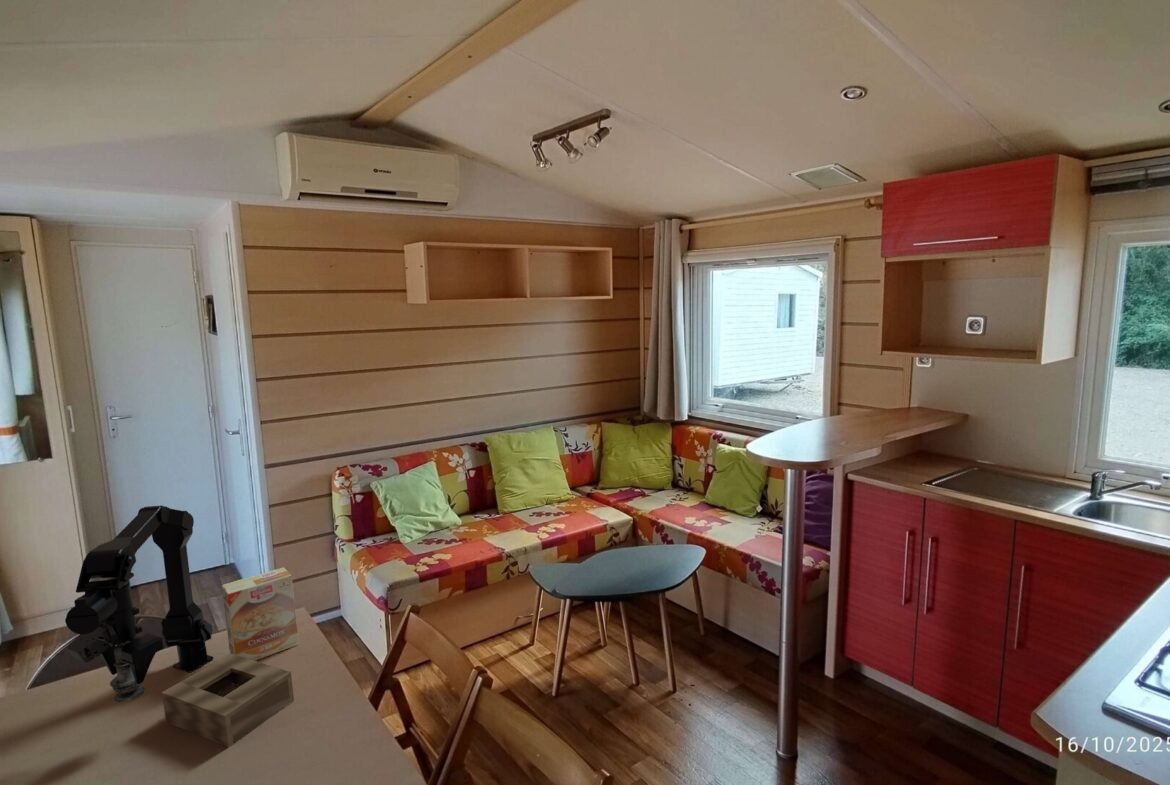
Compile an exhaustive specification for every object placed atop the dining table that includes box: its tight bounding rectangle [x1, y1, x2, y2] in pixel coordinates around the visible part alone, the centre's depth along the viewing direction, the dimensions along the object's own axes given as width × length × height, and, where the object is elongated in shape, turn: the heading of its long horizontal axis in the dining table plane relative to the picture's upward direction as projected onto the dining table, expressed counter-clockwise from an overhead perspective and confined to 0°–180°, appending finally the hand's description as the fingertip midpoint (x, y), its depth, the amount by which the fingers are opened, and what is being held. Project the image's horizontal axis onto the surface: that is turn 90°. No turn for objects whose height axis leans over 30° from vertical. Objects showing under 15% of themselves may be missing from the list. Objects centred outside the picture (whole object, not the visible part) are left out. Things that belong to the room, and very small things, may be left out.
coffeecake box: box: [221, 567, 300, 661], centre depth 163 cm, size 15×7×20 cm, turn 131°
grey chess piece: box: [109, 645, 146, 703], centre depth 132 cm, size 6×6×12 cm
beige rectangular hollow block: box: [161, 652, 295, 748], centre depth 140 cm, size 20×16×7 cm
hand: (127, 678), depth 132 cm, fingers closed on grey chess piece, 8 cm apart
